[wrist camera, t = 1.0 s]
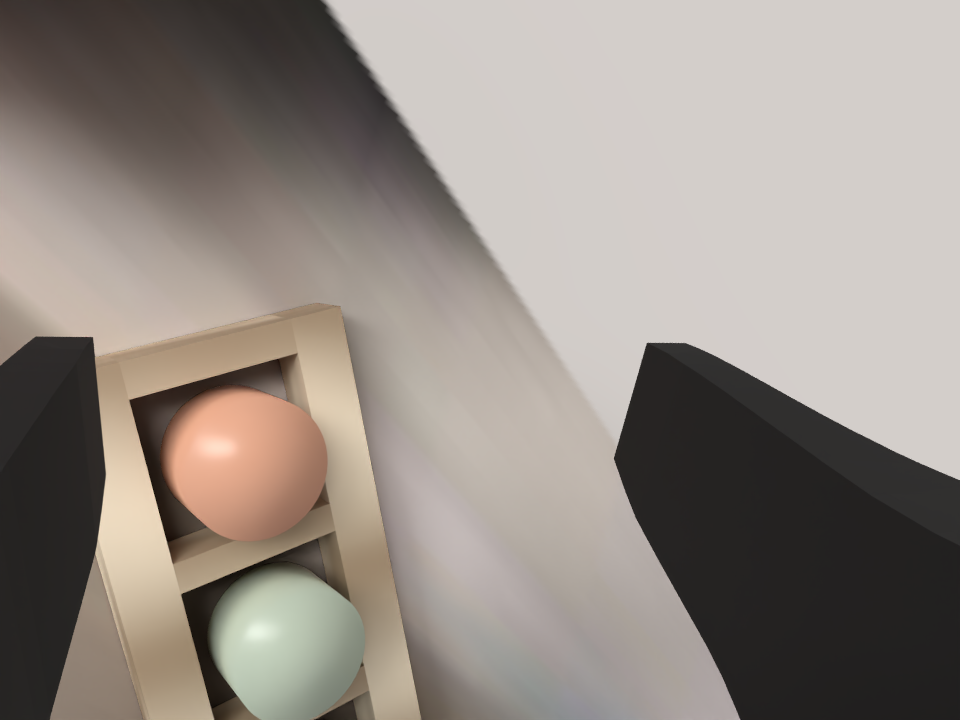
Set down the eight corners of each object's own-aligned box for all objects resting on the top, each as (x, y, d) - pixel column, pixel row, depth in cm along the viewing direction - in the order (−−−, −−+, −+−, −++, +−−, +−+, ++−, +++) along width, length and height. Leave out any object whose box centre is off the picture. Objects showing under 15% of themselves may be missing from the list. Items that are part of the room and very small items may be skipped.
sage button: (339, 651, 24) (375, 684, 22) (223, 708, 22) (253, 750, 20) (315, 543, 23) (351, 568, 21) (193, 593, 21) (221, 626, 19)
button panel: (414, 785, 27) (439, 811, 26) (201, 919, 23) (218, 956, 22) (316, 303, 23) (340, 306, 22) (42, 370, 19) (52, 378, 18)
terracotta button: (303, 489, 22) (339, 510, 21) (178, 536, 21) (205, 564, 19) (277, 369, 22) (312, 380, 20) (144, 406, 20) (169, 423, 18)
